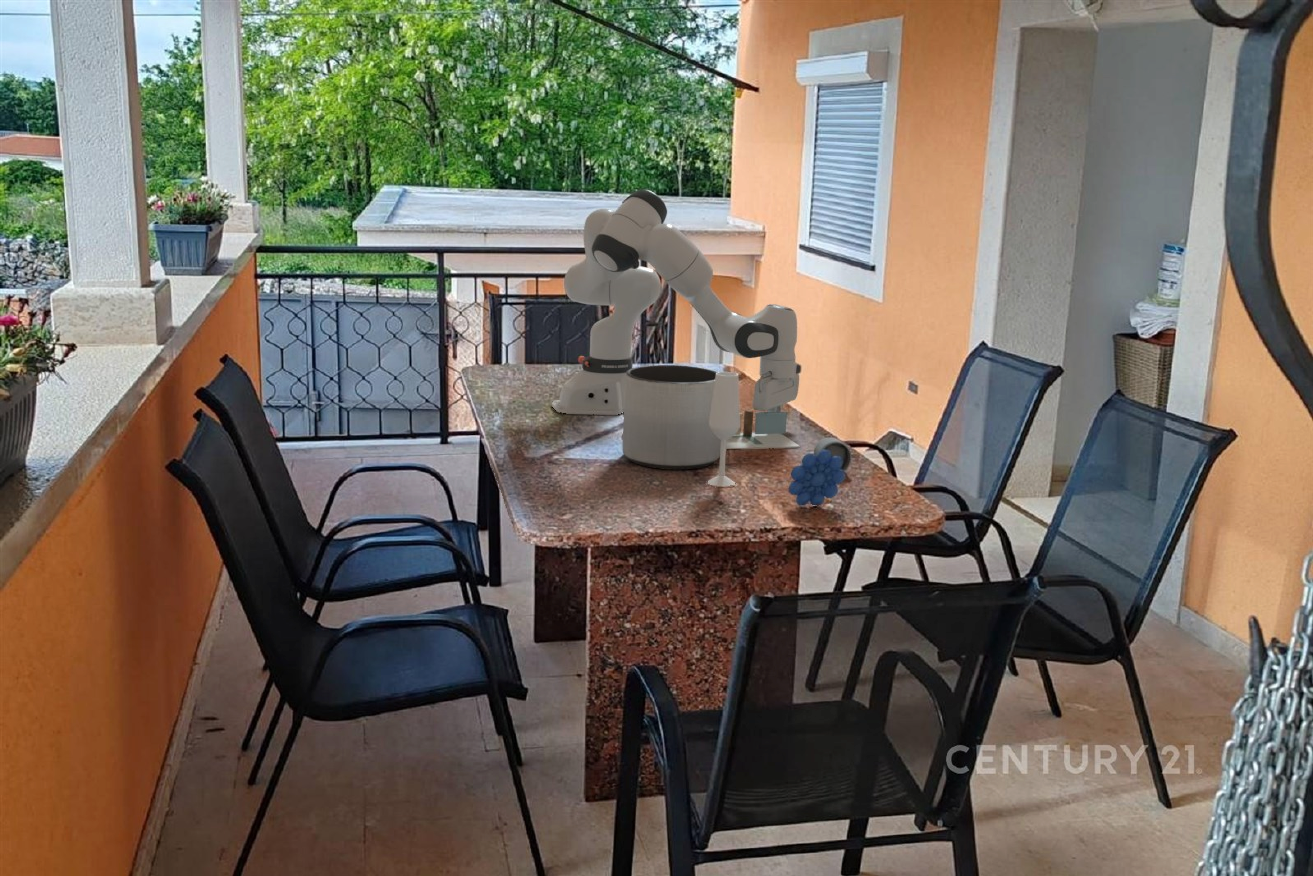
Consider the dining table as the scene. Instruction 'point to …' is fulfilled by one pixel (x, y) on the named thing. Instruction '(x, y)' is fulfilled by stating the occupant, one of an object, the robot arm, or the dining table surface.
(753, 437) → the card
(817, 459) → the grapes
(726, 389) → the champagne flute
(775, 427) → the light blue rectangular panel
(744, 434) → the pine fence section
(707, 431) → the planter
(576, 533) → the dining table surface
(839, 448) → the ceramic mug
